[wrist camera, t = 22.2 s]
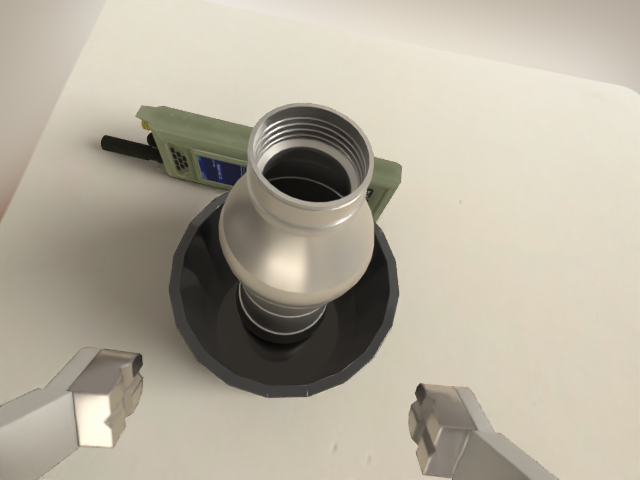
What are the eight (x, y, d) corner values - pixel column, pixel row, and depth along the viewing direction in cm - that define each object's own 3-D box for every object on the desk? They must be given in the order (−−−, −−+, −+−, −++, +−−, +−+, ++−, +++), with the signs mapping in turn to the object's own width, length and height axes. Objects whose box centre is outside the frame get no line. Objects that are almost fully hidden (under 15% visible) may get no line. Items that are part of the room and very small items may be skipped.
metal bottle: (269, 251, 30) (277, 34, 12) (337, 295, 30) (457, 138, 11) (220, 315, 28) (135, 166, 9) (294, 365, 27) (358, 310, 9)
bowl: (367, 393, 28) (410, 394, 19) (188, 398, 26) (152, 401, 18) (356, 235, 33) (387, 183, 25) (206, 230, 31) (185, 171, 23)
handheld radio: (374, 230, 33) (100, 167, 32) (378, 200, 35) (116, 138, 33) (400, 191, 27) (63, 110, 26) (403, 156, 29) (85, 79, 27)
